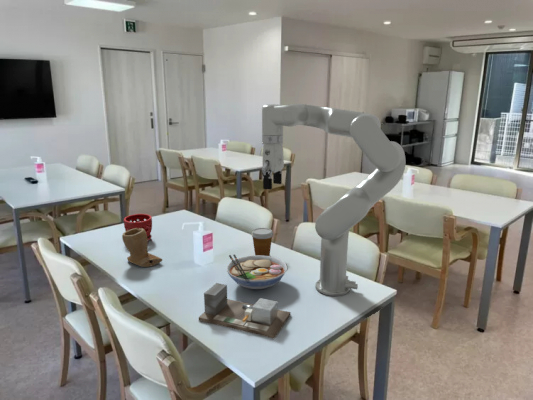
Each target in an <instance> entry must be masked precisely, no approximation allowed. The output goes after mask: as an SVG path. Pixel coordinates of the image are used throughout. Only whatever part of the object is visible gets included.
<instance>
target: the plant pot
mask: <svg viewBox="0 0 533 400" xmlns="http://www.w3.org/2000/svg"><path fill="white" fill-rule="evenodd" d="M123 225H124V227H123V228H124V230H125V231H124V232H126V231H128V230H131V229H135V228H140V229H142V228H143V229H144V230H145V231H146V234H147V239H148V242H149V241H150V240H151V239H152V237H153V236H152V229H153V217H152V215H150V214H148V213H135V214H129V215H127V216H125V217H124V218H123Z"/></svg>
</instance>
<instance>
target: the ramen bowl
mask: <svg viewBox="0 0 533 400" xmlns="http://www.w3.org/2000/svg"><path fill="white" fill-rule="evenodd" d="M228 258H229V259H230V260H231V261H230V262H229V263H228V264H227V265H226V272H227V274H228V276H229V277H230V278H231V279H232V280H233V281H234V282H235V283H236V284H237V285H239V286H241V287H244V288H246V289H251V290H263V289H266V288H267V289H268V288H271V287H272V286H274V285H276V284H278V283H279V282H280V281H281V280H282V279H283V277H284V276H285V274H286V272H287V270H288V266H287V263H286V262H285V261H283V260H282V259H280V258H277V257H275V256H262V255H257V256H255V255H246V256H241V257H237V255H236V254H233V255H231V254H229V255H228Z"/></svg>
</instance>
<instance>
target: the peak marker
mask: <svg viewBox="0 0 533 400" xmlns="http://www.w3.org/2000/svg"><path fill="white" fill-rule="evenodd" d="M246 320H247V321H251V320H252V309H248V308H247V309H246V311H245V318H244V319H243V320H242V321H243V322H245V321H246Z"/></svg>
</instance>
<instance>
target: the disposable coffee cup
mask: <svg viewBox="0 0 533 400" xmlns="http://www.w3.org/2000/svg"><path fill="white" fill-rule="evenodd" d="M273 235H274V232H273V230H272V229H270V228H268V227H258V228H254V229H253V230H252V232H251V237H252V241H253V242H252V243H253V248H254V256H257V255H262V256H270V255H271V247H272V240H273V239H272V238H273Z"/></svg>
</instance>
